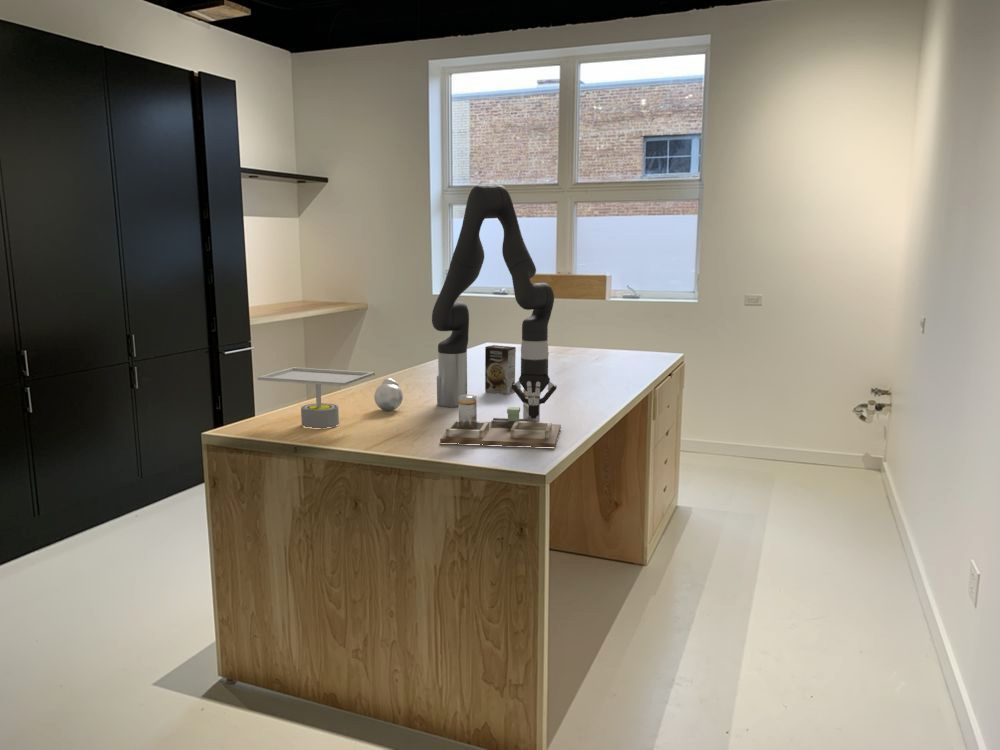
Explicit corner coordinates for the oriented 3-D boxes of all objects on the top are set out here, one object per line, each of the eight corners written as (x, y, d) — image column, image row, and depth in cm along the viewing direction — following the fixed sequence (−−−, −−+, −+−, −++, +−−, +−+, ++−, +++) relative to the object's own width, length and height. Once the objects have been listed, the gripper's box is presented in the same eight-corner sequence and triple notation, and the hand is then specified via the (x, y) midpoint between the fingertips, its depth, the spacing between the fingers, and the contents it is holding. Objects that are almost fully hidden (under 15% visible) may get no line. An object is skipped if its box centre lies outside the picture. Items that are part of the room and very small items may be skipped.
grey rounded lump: (410, 408, 236) (409, 377, 234) (391, 414, 228) (390, 382, 226) (387, 405, 241) (386, 375, 239) (368, 411, 233) (367, 380, 231)
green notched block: (507, 425, 208) (507, 409, 207) (508, 423, 211) (508, 406, 210) (518, 426, 207) (518, 409, 207) (519, 423, 211) (520, 407, 210)
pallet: (440, 444, 196) (439, 431, 195) (456, 425, 215) (456, 413, 214) (554, 449, 191) (554, 435, 190) (560, 429, 210) (560, 417, 210)
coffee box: (484, 392, 261) (484, 346, 258) (493, 389, 267) (493, 344, 264) (507, 395, 257) (507, 348, 254) (516, 391, 263) (516, 346, 260)
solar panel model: (260, 428, 212) (257, 376, 209) (295, 415, 228) (293, 366, 225) (346, 437, 203) (344, 382, 200) (376, 422, 219) (375, 372, 216)
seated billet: (457, 434, 199) (456, 398, 197) (460, 430, 204) (460, 394, 202) (475, 435, 199) (474, 398, 197) (478, 430, 203) (478, 394, 201)
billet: (522, 425, 216) (522, 391, 214) (524, 421, 220) (524, 387, 219) (538, 425, 215) (539, 391, 213) (540, 421, 220) (540, 388, 218)
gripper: (508, 357, 202) (508, 420, 205) (557, 359, 200) (556, 421, 204) (512, 353, 210) (512, 413, 213) (559, 354, 208) (558, 415, 211)
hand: (533, 417), depth 208 cm, fingers closed
